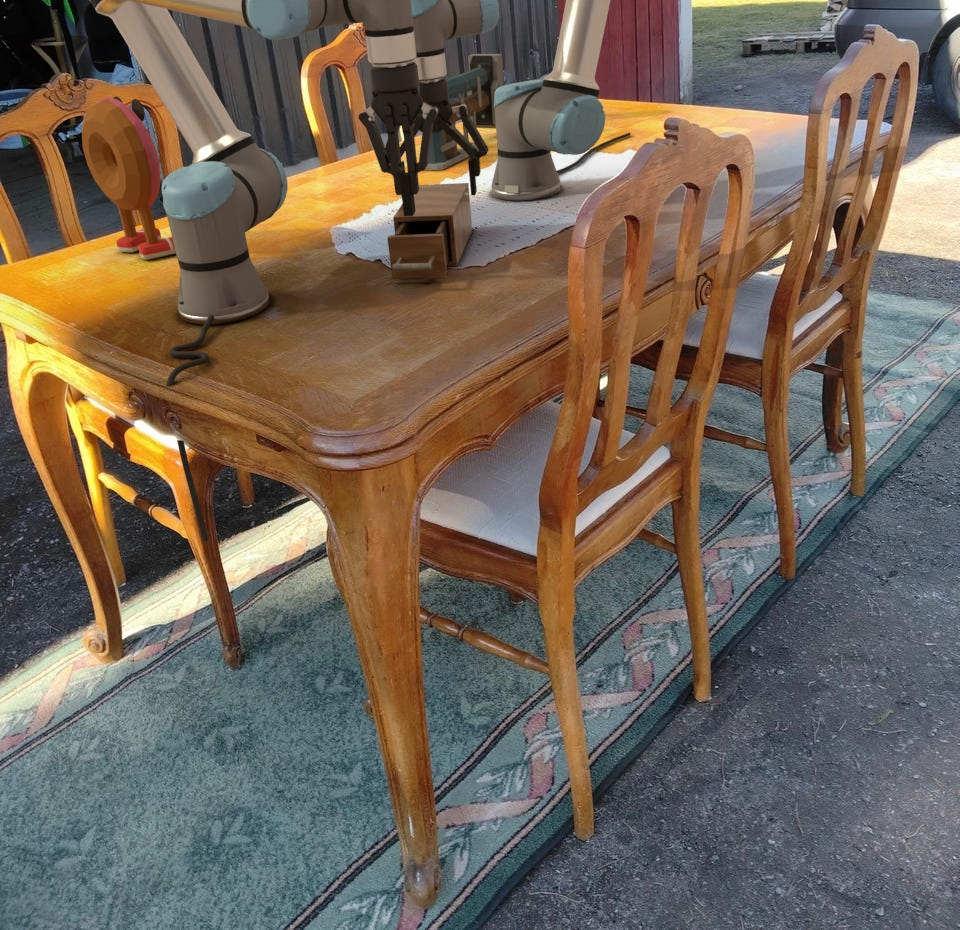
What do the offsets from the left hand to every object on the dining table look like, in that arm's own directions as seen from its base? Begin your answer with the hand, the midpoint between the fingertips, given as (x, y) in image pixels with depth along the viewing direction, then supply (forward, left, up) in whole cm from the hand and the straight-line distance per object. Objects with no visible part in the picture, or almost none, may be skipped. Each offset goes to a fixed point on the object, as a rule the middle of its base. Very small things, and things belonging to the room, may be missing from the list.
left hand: (409, 213), depth 162 cm
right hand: (+27, +4, -5) cm, 27 cm away
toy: (+15, +64, -13) cm, 66 cm away
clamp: (+96, +23, -13) cm, 99 cm away
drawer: (+9, +1, -12) cm, 15 cm away
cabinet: (+21, +4, -13) cm, 25 cm away
